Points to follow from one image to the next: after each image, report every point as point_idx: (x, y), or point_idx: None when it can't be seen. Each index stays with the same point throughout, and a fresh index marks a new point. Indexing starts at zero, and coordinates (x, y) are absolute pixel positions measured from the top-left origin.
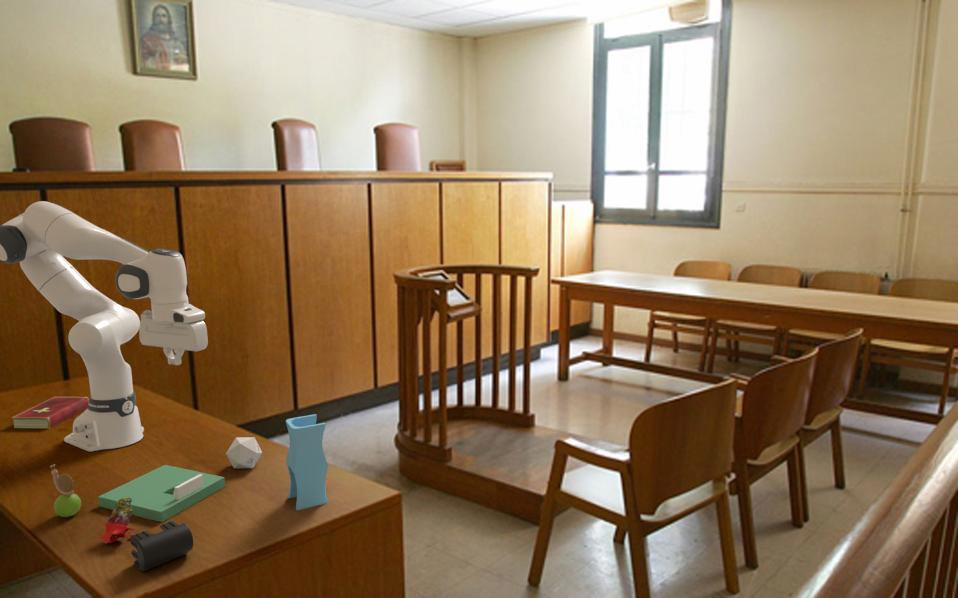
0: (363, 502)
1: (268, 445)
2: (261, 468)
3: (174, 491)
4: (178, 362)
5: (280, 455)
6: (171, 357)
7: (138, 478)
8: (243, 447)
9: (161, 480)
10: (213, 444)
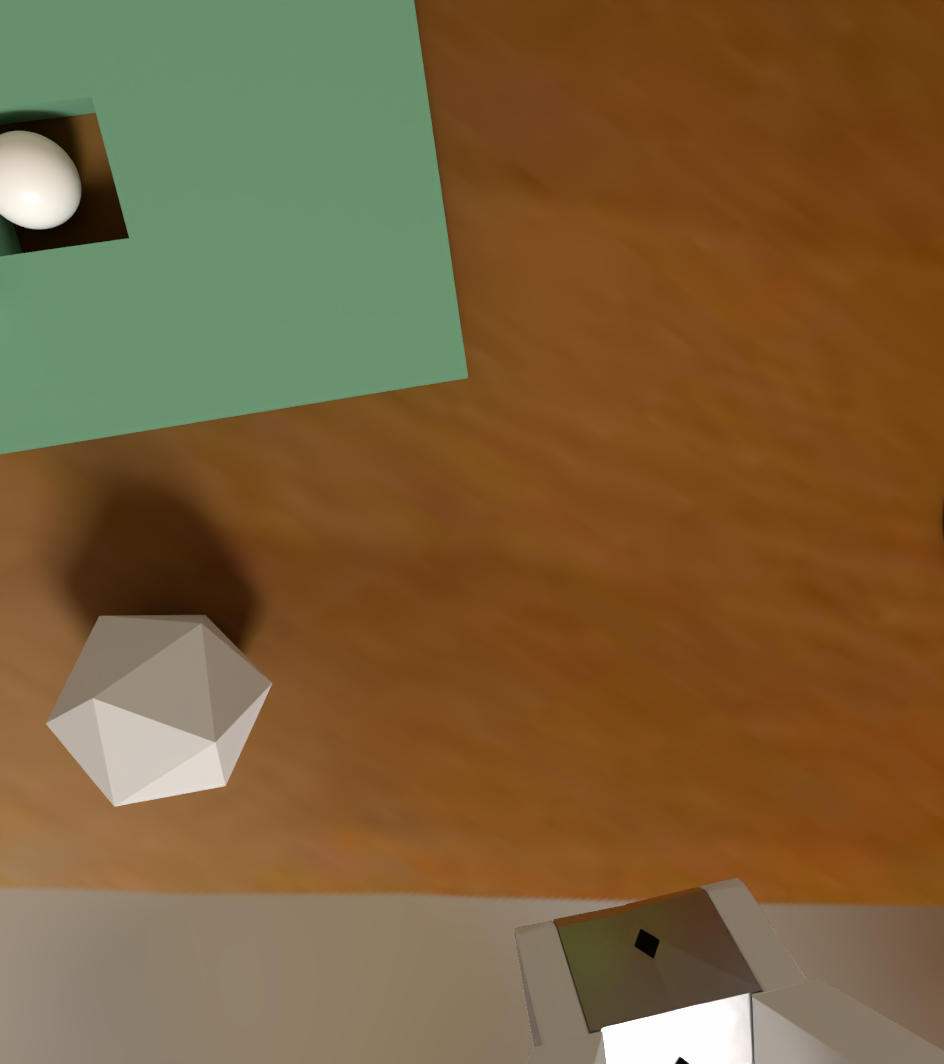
0: None
1: (317, 875)
2: None
3: (30, 139)
4: (529, 1002)
5: (151, 838)
6: (752, 1041)
7: (423, 157)
8: (82, 694)
9: (275, 216)
10: (573, 736)
